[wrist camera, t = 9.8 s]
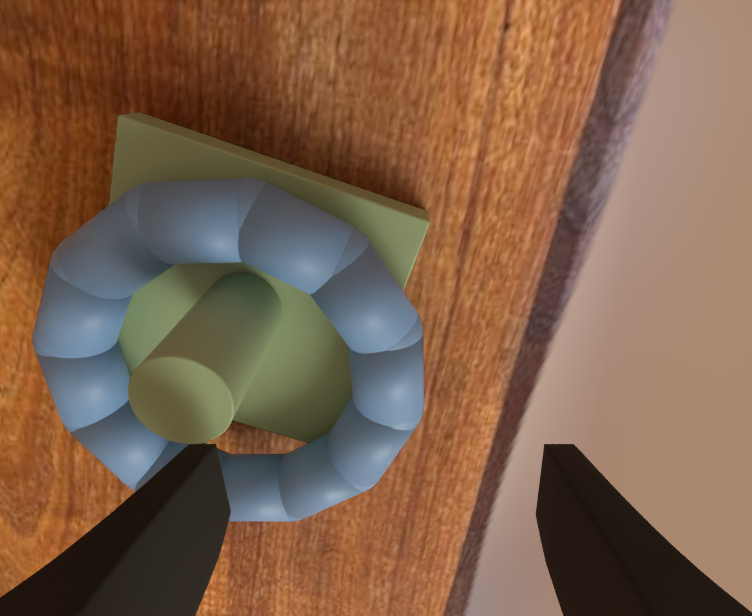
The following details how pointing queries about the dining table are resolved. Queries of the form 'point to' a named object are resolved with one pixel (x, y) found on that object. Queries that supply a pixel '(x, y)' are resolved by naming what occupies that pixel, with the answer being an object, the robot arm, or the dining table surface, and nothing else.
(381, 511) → the dining table surface
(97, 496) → the dining table surface
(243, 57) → the dining table surface
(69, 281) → the ring
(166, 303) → the peg stand
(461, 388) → the dining table surface
